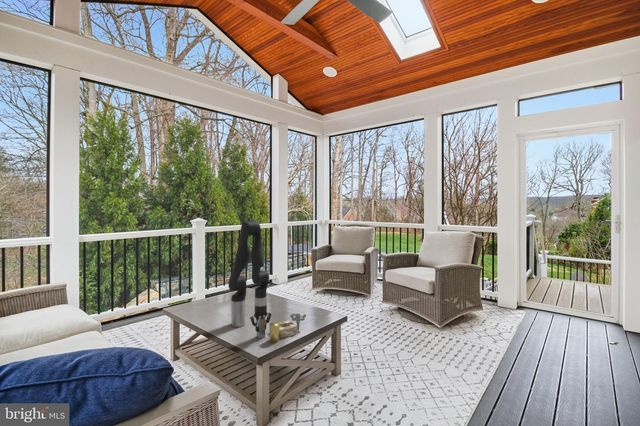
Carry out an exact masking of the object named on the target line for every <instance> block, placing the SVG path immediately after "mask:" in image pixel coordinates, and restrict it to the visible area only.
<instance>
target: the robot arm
mask: <svg viewBox="0 0 640 426" xmlns="http://www.w3.org/2000/svg"><path fill="white" fill-rule="evenodd" d="M261 231H262V229H261V225H260V222H259V221H258V220H246V221H243V222H242V224H241V226H240V232H239V240H238V245H237V250H236V254H235V257H234V263H233V266H232V271H231V273H230V276H229V279H228V284H227V285H228V289H229V290H230V291H231V292H235V293H234V294H232V295H231V299H230V300H231V301H230V302H231V304H230V305H231V306H230V307H231V310H230V311H231V315H230V316H231V319H230V320H231V327H233V328H240V327H244V326H245V325H246V296H247V279H246V277H245V276H244V275H241V274H242V272H243V271H244V270H245V268H246V267H247V266H248V264H250V260H251V264H252V265H251V266H252V270H251V271H252V272H251V280H252V282H253V284H255V285H258V286H257V287H256V288H255V289H254V314H253V315H252V316H249V319H250V322H251V325H252V326H254V327H255V328H254V329H255V332H256V333H257V332H259V326H258V325H259V319H261V318H265V331H266V330H267V324H270V321H271V318H272V313H271V312H268V299H267V290H268V285H269V282H270V275H269V273H268V271H260V269H262V268H263V267H265V262H264V257H263V250H262V232H261ZM249 237H253V239H254V240H253V241H254V242H253V247H252V249H250V246H249V244H248V238H249ZM257 320H258V321H257Z"/></svg>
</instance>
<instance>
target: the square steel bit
mask: <svg viewBox="0 0 640 426" xmlns="http://www.w3.org/2000/svg"><path fill="white" fill-rule="evenodd" d="M265 318H266V317H265ZM265 318H261V319H259V325H258V326H259V332H256V338H258V339H264V338H266V330H265ZM257 321H258V320H257Z"/></svg>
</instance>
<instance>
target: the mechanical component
mask: <svg viewBox="0 0 640 426" xmlns="http://www.w3.org/2000/svg"><path fill="white" fill-rule="evenodd" d="M289 317H290V318H291V322H296V326H297V331H298V330H300V323H301V321H305V319H306V318H307V314H305V313H303V315H301V313H291V314H290V316H289Z"/></svg>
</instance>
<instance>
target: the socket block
mask: <svg viewBox="0 0 640 426" xmlns="http://www.w3.org/2000/svg"><path fill="white" fill-rule="evenodd" d="M278 323H280V340H281V339H284V338H288V337H290V336H291V337H292V336H294V335H295V336H296V335H297V334H298V330H297V324H295V323H294V322H293V321H290V320H289V319H288V320H284V321H279V322H278Z"/></svg>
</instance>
